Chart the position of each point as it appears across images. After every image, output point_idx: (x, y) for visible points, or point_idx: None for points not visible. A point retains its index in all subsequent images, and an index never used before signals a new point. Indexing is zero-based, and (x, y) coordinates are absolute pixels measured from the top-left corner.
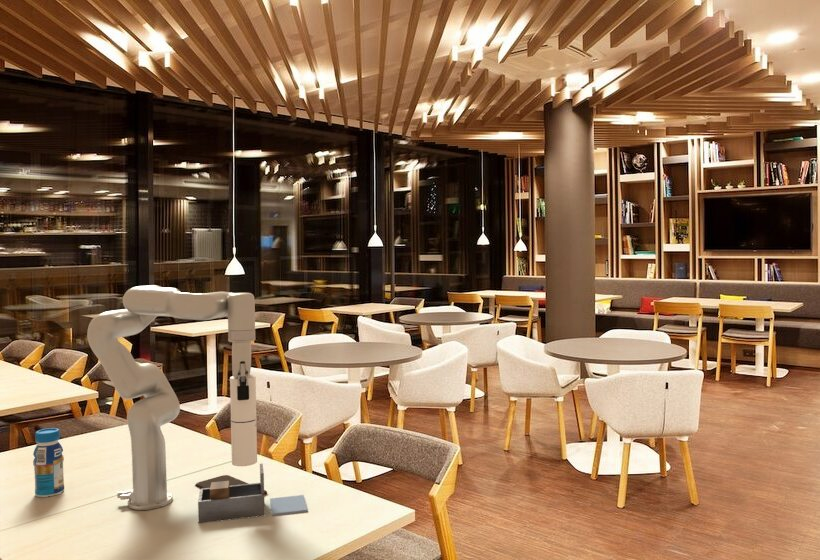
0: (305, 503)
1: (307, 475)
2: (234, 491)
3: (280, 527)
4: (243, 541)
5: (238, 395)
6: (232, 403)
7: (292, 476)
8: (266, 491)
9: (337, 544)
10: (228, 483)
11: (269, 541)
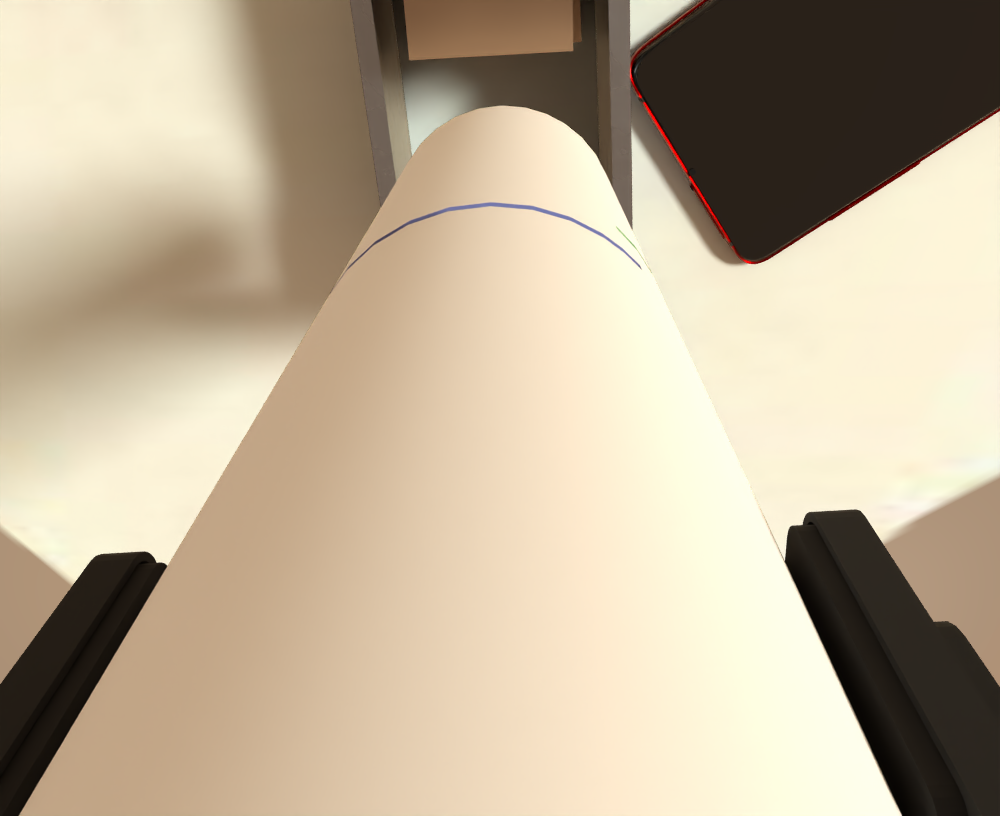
0: None
1: (970, 475)
2: (605, 78)
3: (245, 341)
4: (79, 164)
5: (53, 645)
6: (301, 370)
7: (995, 397)
8: (753, 260)
9: (58, 559)
10: (508, 52)
11: (81, 294)
